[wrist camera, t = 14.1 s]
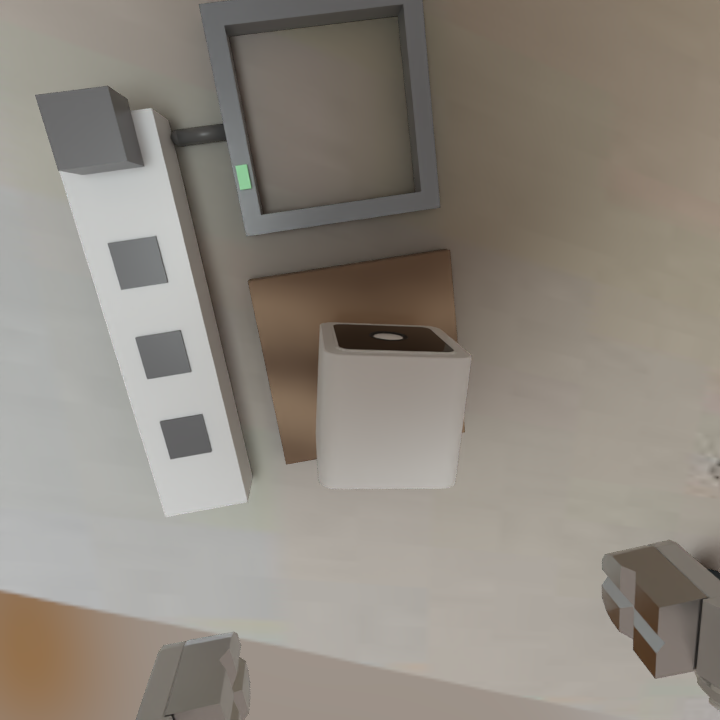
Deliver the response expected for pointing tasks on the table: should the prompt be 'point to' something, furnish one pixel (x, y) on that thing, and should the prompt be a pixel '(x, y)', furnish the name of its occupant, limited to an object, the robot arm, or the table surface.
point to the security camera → (389, 406)
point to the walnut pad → (343, 305)
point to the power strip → (152, 289)
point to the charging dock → (305, 9)
